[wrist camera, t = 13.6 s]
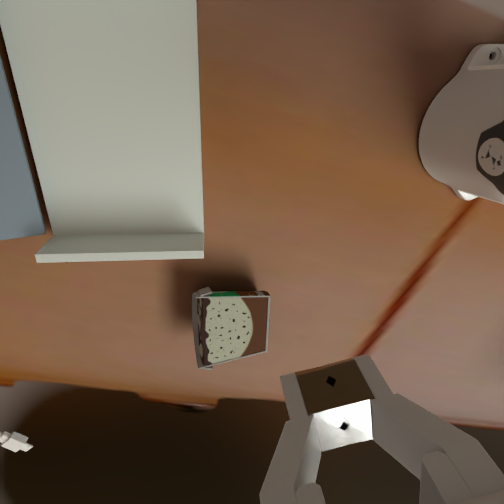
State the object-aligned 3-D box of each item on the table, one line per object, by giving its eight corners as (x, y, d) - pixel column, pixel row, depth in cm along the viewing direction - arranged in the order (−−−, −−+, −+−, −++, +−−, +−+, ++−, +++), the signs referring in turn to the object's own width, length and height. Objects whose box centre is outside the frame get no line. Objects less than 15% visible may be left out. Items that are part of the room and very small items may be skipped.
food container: (257, 266, 50) (190, 273, 48) (270, 285, 45) (195, 293, 42) (254, 335, 55) (193, 344, 52) (266, 360, 49) (198, 371, 47)
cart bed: (195, -32, 33) (192, -58, 26) (204, 234, 45) (203, 258, 39) (-7, -47, 30) (-62, -81, 24) (61, 236, 43) (37, 262, 37)
